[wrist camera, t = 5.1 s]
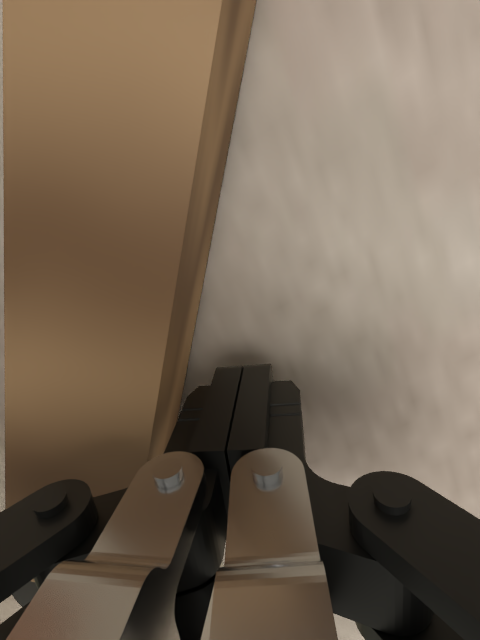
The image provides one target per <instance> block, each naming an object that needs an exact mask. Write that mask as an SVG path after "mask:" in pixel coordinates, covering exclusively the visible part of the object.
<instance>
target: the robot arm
mask: <svg viewBox="0 0 480 640" xmlns="http://www.w3.org/2000/svg"><path fill="white" fill-rule="evenodd" d="M225 542H226V552H225V563H224V565H223V560H222V559H223V554H224V548H225ZM32 579H34V581H35V583H36V586H37V588H38V591H37V593H36V594H35V596H34V597H33V599H32V600H31V601H30V602H29V603H28V604H26V605H25V606H24V607H22V608H21V609H20V610H18V611H17V612H16V613H15V614H13V615H12V616H11V617H9V618H8V619H7V620H5V621H4V622H3V623H2V624H0V640H338V638H337V633H336V627H335V622H334V616H333V613H334V614H337V615H340V616H342V617H345V618H348V619H350V620H353V621H355V622H356V625H357V628H358V629H359V631H360V633H361V635H362V636H363V637H364V639H365V640H480V519H478V518H476V517H475V516H473V515H472V514H470V513H468V512H467V511H465V510H464V509H462V508H461V507H459V506H457V505H456V504H454V503H453V502H451V501H449V500H448V499H446V498H445V497H443V496H441V495H440V494H438V493H437V492H435V491H434V490H432V489H430V488H429V487H427V486H426V485H424V484H422V483H421V482H419V481H417V480H416V479H414V478H412V477H409V476H407V475H404V474H401V473H396V472H390V471H379V472H372V473H369V474H366V475H363V476H362V477H360V478H358V479H357V480H356V481H355V482H354V483H353V484H352V486H351V487H348V486H343V485H339V484H335V483H332V482H329V481H327V480H324V479H323V478H321V477H319V476H318V475H316V474H315V473H314V472H313V471H312V470H311V469H310V468H309V467H308V465H307V463H306V460H305V446H304V433H303V422H302V411H301V400H300V390H299V389H298V388H297V387H296V386H295V384H294V383H293V382H292V381H275V382H273V374H272V367H271V364H262V365H247V366H234V367H219V368H216V371H215V374H214V377H213V380H212V383H211V386H199V387H198V388H197V389H196V390H195V391H193V392H192V393H191V394H190V395H189V396H188V397H187V399H186V401H185V404H184V406H183V409H182V411H181V413H180V416H179V418H178V422H177V423H176V425H175V427H174V430H173V432H172V435H171V437H170V439H169V442H168V444H167V446H166V449H165V451H164V454H162V455H159V456H157V457H155V458H153V459H151V460H150V461H148V462H147V463H146V464H144V465H143V466H142V467H141V468H140V469H139V470H138V472H137V473H136V475H135V477H134V478H133V480H132V482H131V483H130V485H129V487H128V488H125V489H122V490H118V491H114V492H111V493H107V494H104V495H100V496H96V497H93V496H92V493H91V490H90V487H89V486H88V484H86V483H85V482H84V481H81V480H77V479H66V480H61V481H57V482H54V483H51V484H49V485H46V486H44V487H42V488H41V489H39V490H37V491H35V492H34V493H32V494H30V495H29V496H27V497H25V498H24V499H22V500H20V501H19V502H17V503H15V504H14V505H12V506H10V507H9V508H7V509H5V510H4V511H2V512H0V603H1V602H2V601H4V600H5V599H6V598H8V597H9V596H10V595H12V594H13V593H14V592H16V591H17V590H19V589H20V588H21V587H23V586H24V585H25V584H27V583H28V582H29V581H31V580H32Z"/></svg>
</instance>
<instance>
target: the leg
mask: <svg viewBox="0 0 480 640" xmlns="http://www.w3.org/2000/svg"><path fill="white" fill-rule="evenodd" d="M255 5H256V0H3V148H4V329H5V509H7V508H9V507H10V506H12V505H14V504H15V503H17V502H19V501H20V500H22V499H24V498H25V497H27V496H29V495H30V494H32V493H34V492H35V491H37V490H39V489H41V488H42V487H44V486H46V485H49V484H51V483H54V482H57V481H61V480H66V479H77V480H81V481H84V482H85V483H86V484H88V486H89V487H90V490H91V493H92V496H93V497H96V496H100V495H104V494H107V493H111V492H114V491H118V490H122V489H125V488H128V487H129V485H130V483H131V482H132V480H133V478H134V477H135V475H136V473H137V472H138V470H139V469H140V468H141V467H142V466H143V465H144V464H146V463H147V462H148V461H150V460H151V459H153V458H155V457H157V456H159V455H162V454H164V451H165V449H166V446H167V444H168V442H169V439H170V437H171V435H172V432H173V430H174V427H175V425H176V423H177V419H178V414H179V408H180V403H181V398H182V392H183V387H184V382H185V377H186V371H187V366H188V361H189V355H190V350H191V345H192V339H193V334H194V329H195V324H196V318H197V313H198V308H199V302H200V297H201V292H202V286H203V281H204V276H205V270H206V265H207V260H208V255H209V249H210V244H211V239H212V233H213V228H214V223H215V217H216V212H217V207H218V201H219V196H220V191H221V186H222V180H223V175H224V170H225V164H226V159H227V154H228V148H229V143H230V138H231V132H232V127H233V122H234V117H235V111H236V106H237V101H238V95H239V90H240V85H241V79H242V74H243V69H244V63H245V58H246V53H247V48H248V42H249V37H250V32H251V26H252V21H253V16H254V10H255ZM37 591H38V588H37V586H36V583H35V581H34V579H32V580H31V581H29V582H28V583H27V584H25V585H24V586H23V587H21V588H20V589H19V590H17V591H16V592H14V593H13V594H12V595H13V597H14V598H15V599H16V601H17V602H18V603H19V604H20V605H21V606H22V607H24V606H25V605H26V604H28V603H29V602H30V601H31V600H32V599H33V597H34V596H35V594H36V593H37Z"/></svg>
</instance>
